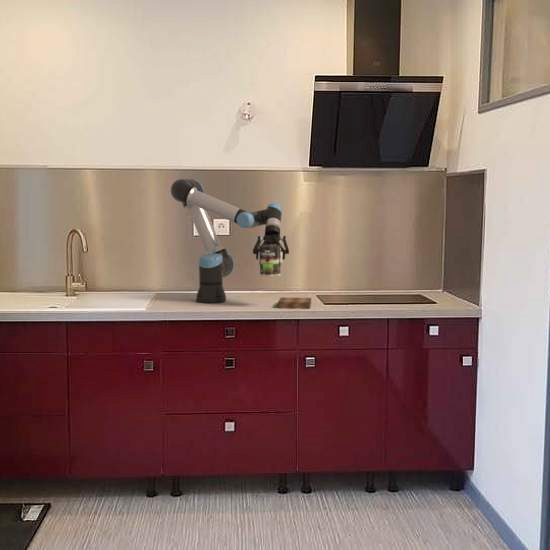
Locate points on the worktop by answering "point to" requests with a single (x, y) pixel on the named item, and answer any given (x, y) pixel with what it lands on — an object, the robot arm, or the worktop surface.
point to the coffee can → (270, 260)
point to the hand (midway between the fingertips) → (269, 264)
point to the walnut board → (294, 303)
